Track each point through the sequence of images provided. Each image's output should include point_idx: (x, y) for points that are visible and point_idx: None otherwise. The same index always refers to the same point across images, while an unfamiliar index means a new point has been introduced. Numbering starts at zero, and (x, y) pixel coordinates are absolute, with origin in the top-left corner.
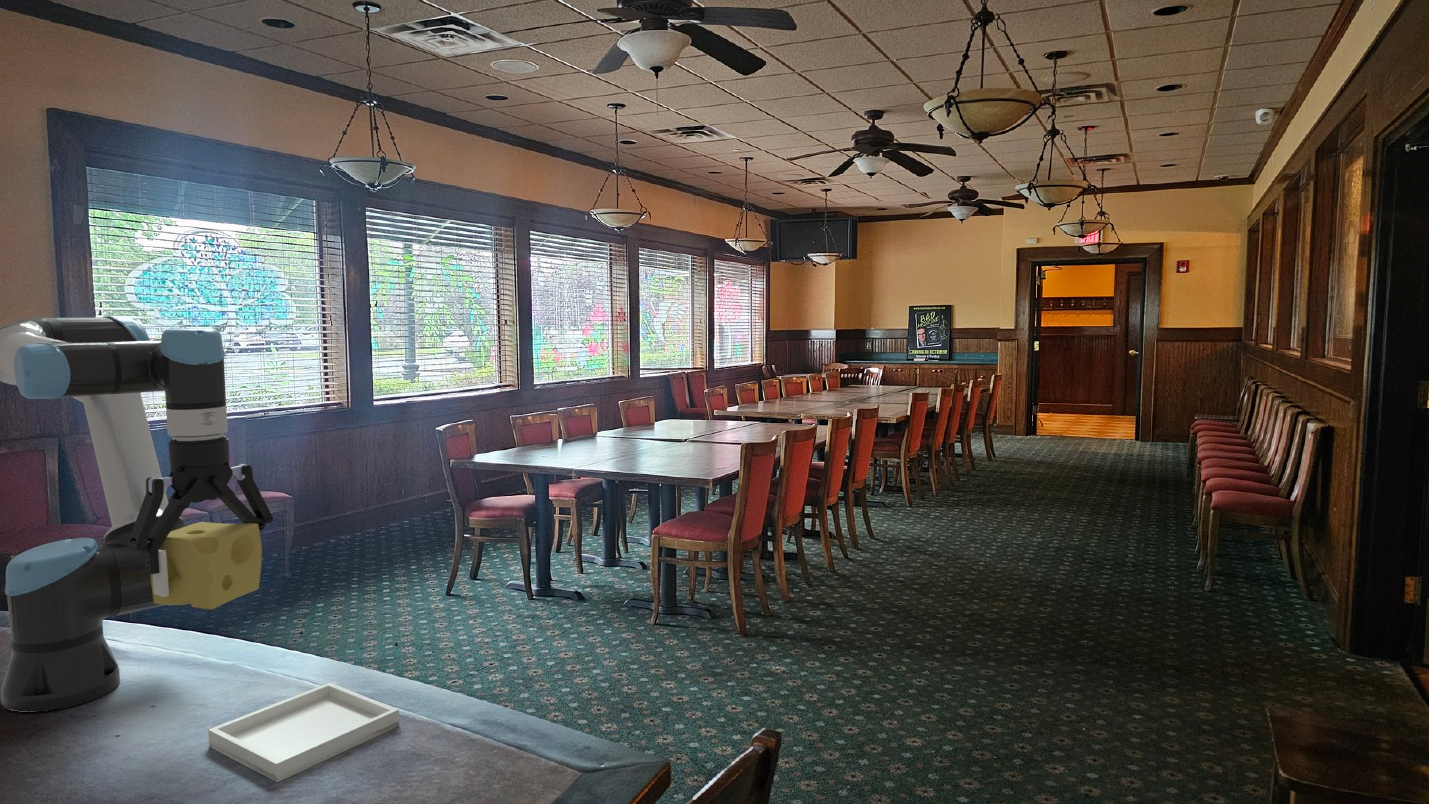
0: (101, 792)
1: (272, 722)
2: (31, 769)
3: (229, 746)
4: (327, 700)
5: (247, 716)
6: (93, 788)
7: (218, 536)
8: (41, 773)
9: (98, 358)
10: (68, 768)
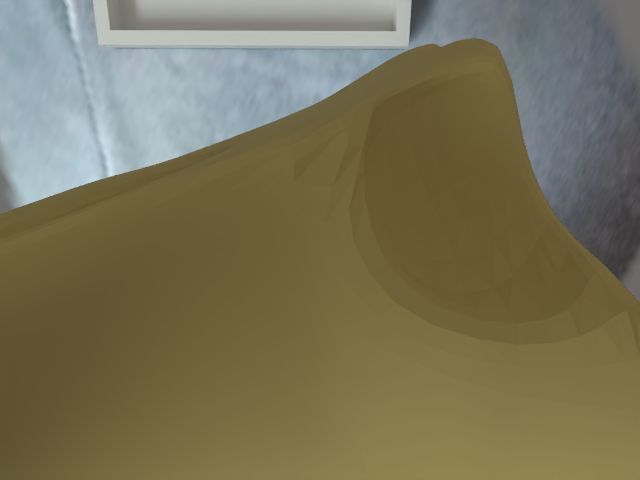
0: (615, 41)
1: (276, 15)
2: (613, 246)
3: None
4: (136, 12)
5: (322, 33)
6: (611, 72)
7: (312, 222)
8: (615, 216)
9: None
10: (583, 195)
